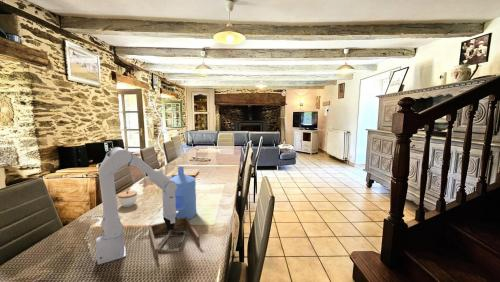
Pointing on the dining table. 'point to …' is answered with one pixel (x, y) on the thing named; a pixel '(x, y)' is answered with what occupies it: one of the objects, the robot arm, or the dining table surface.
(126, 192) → the lidded jar
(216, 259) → the dining table surface
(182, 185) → the water jug
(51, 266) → the dining table surface
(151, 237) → the walnut u-shaped frame
